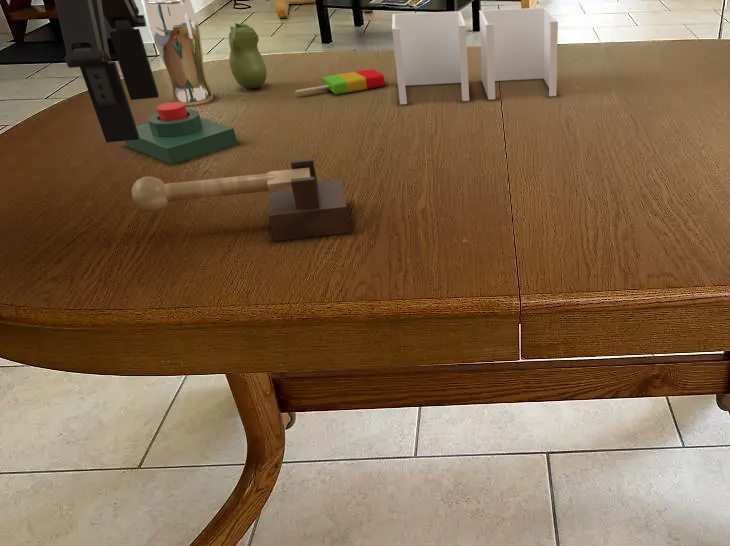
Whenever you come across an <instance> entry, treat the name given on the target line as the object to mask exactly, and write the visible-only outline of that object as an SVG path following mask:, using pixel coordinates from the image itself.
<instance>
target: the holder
mask: <svg viewBox="0 0 730 546" xmlns="http://www.w3.org/2000/svg"><path fill="white" fill-rule="evenodd" d="M290 167H291V169H300V168H309V169H310V174H311V177H306V178H296V179H291V185H292V190H290V191H281V192H272V193H269V202H268V203H269V206H268V217H269V218H268V219H269V222H270V226H271V232H272V235H273V239H274V242H282V241H291V240H298V239H299V240H300V239H308V238H316V237H323V236H333V235H334V236H335V235H341V234H342V235H343V234H348V233H349V234H350V233H352V230H351V223H350V218H349V212H348V207H347V200H346V199H347V198H346V193H345V188H344V179H343V178H338V179H328V180H318V178H317V173H316V167H315V161H314V158H312V157H310V158H301V159H291V160H290Z"/></svg>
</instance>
